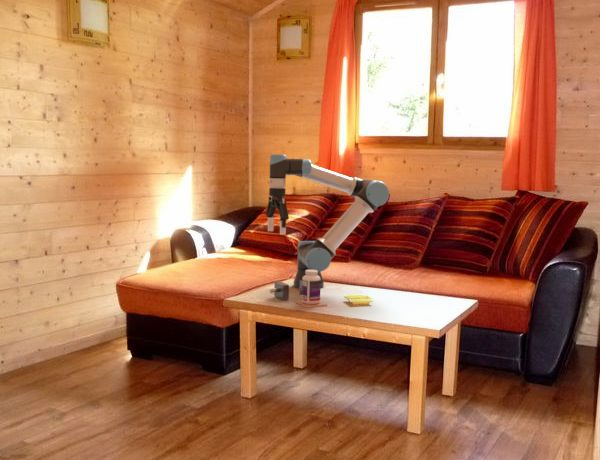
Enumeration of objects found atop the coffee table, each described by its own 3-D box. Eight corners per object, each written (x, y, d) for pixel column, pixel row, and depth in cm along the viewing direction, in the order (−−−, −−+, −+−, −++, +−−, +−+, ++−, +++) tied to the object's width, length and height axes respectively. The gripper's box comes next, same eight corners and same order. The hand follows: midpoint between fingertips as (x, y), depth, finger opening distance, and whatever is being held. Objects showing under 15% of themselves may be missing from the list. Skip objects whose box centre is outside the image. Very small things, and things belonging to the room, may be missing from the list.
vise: (312, 293, 304) (312, 279, 303) (321, 297, 296) (322, 282, 295) (266, 297, 293) (266, 282, 292) (274, 301, 285) (274, 286, 284)
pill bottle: (322, 301, 284) (323, 269, 283) (317, 305, 277) (318, 272, 275) (304, 300, 287) (305, 268, 285) (299, 303, 279) (300, 271, 277)
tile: (315, 300, 288) (315, 299, 288) (326, 305, 279) (326, 304, 279) (296, 302, 284) (296, 301, 284) (306, 307, 275) (306, 306, 275)
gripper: (259, 186, 307) (258, 230, 309) (281, 189, 285) (280, 236, 287) (273, 186, 310) (272, 229, 312) (296, 189, 288) (295, 235, 290)
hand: (276, 232), depth 300 cm, fingers open, 13 cm apart
